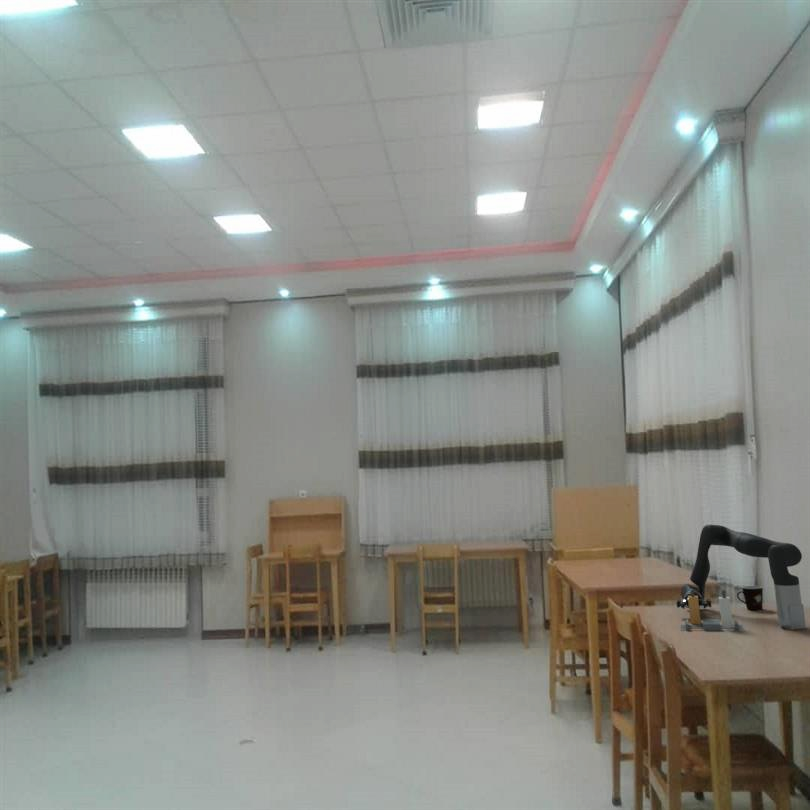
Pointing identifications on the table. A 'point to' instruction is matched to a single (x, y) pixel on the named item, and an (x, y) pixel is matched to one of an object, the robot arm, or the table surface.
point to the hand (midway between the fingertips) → (694, 606)
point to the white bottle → (725, 611)
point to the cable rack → (710, 626)
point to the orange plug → (694, 608)
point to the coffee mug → (752, 597)
